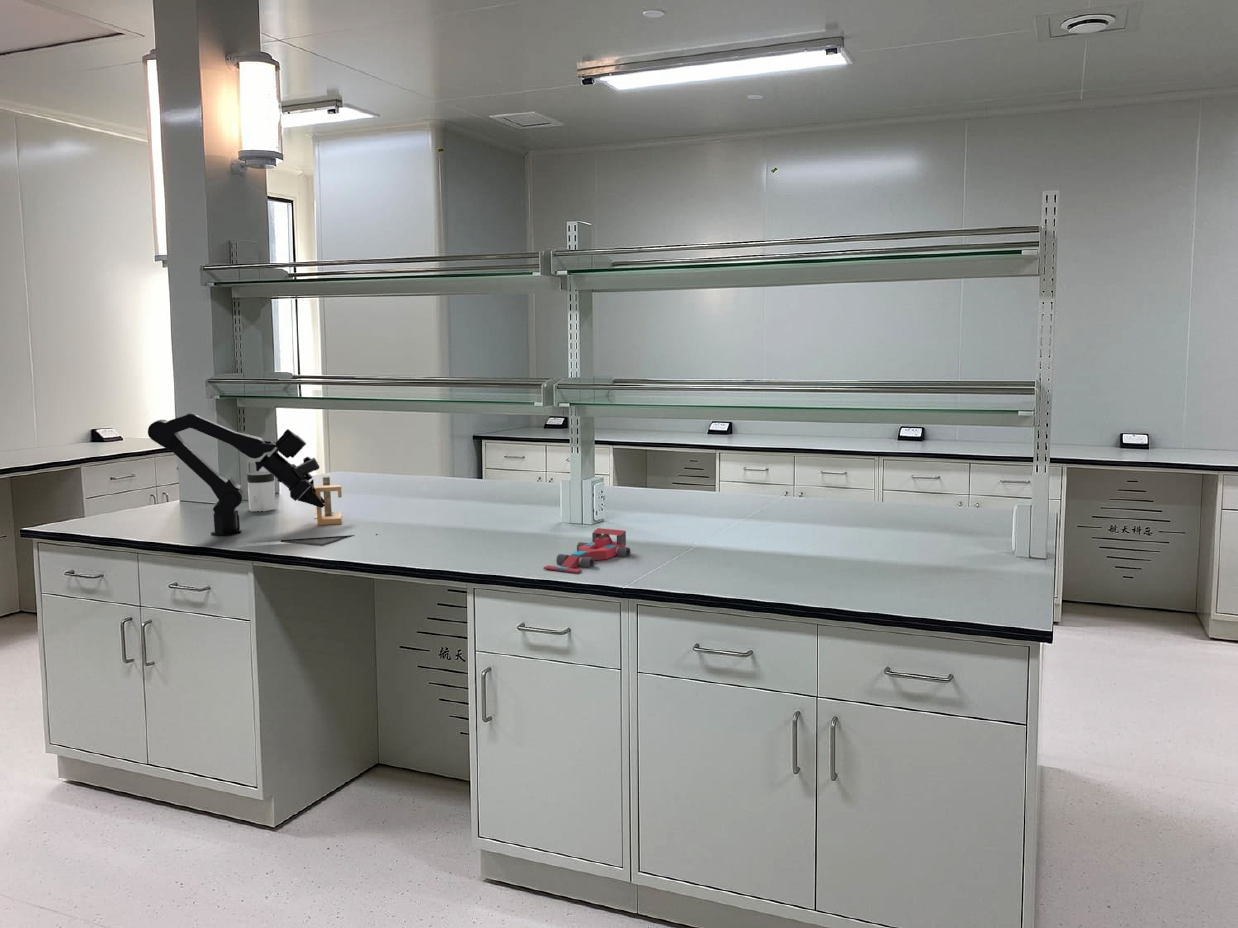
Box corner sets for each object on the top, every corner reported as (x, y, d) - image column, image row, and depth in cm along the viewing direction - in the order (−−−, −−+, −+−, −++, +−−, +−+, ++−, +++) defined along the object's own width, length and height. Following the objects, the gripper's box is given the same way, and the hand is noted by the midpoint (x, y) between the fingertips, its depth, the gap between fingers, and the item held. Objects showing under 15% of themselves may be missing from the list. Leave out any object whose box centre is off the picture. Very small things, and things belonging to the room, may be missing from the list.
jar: (243, 511, 314) (240, 475, 313) (255, 507, 323) (252, 471, 321) (270, 511, 314) (267, 475, 312) (281, 507, 322) (278, 471, 320)
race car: (534, 546, 232) (588, 526, 254) (534, 570, 233) (588, 549, 255) (585, 551, 225) (636, 531, 247) (585, 577, 226) (636, 554, 248)
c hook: (317, 525, 285) (315, 488, 284) (318, 522, 289) (315, 486, 287) (343, 523, 287) (341, 486, 285) (343, 520, 291) (341, 484, 289)
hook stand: (313, 529, 284) (310, 485, 282) (315, 517, 303) (312, 475, 301) (341, 527, 286) (339, 483, 284) (342, 515, 305) (339, 474, 303)
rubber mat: (322, 545, 262) (322, 543, 262) (281, 542, 267) (281, 540, 267) (355, 535, 275) (355, 533, 275) (315, 532, 280) (315, 530, 280)
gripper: (299, 453, 274) (342, 489, 279) (302, 445, 292) (342, 480, 296) (272, 482, 273) (315, 518, 278) (276, 473, 291) (317, 507, 295)
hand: (323, 504), depth 287 cm, fingers open, 6 cm apart
